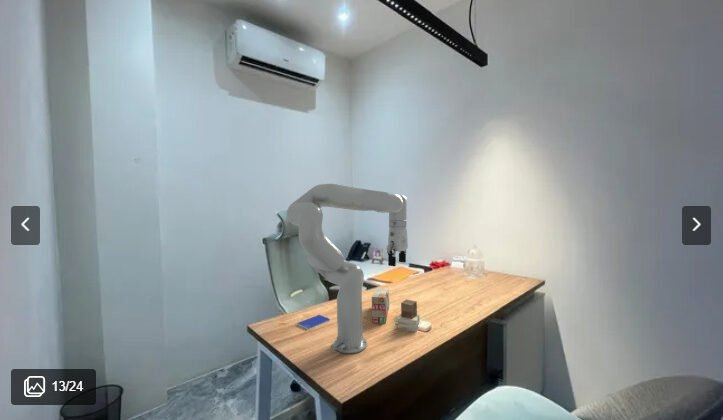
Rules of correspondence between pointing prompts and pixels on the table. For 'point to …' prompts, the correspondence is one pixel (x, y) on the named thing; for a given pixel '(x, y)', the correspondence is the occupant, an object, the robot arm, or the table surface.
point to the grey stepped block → (408, 323)
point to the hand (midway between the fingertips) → (397, 263)
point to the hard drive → (313, 322)
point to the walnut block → (409, 309)
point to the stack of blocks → (380, 305)
